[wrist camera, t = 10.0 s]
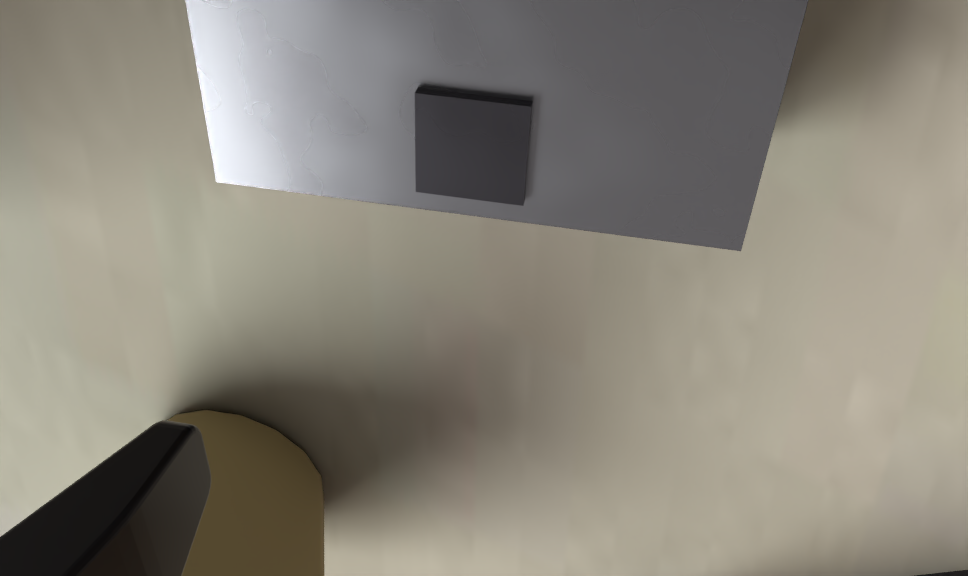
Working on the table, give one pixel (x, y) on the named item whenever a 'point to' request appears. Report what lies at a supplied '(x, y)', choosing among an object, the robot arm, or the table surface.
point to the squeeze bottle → (256, 502)
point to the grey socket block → (504, 106)
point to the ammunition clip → (949, 573)
